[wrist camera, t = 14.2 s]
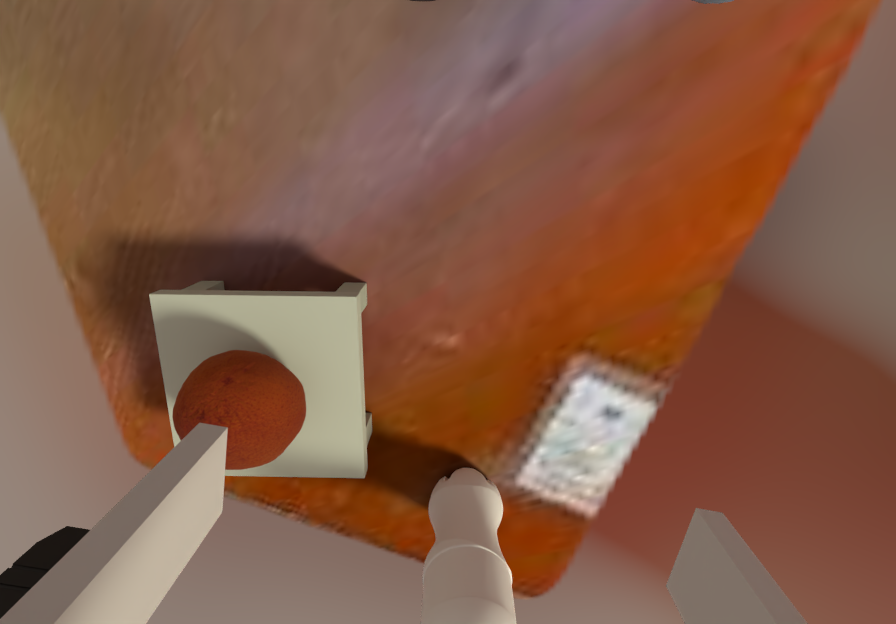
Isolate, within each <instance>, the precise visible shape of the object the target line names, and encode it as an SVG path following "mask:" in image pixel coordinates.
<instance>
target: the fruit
mask: <svg viewBox="0 0 896 624" xmlns="http://www.w3.org/2000/svg"><path fill="white" fill-rule="evenodd" d="M172 417H173V423H174V427H175V430H176V432H177V434H178V436H179V438H180V440H182V439H183V438H184V437H185V436H186V435H187V434H188V433H189V432H190V431H192V430H193V429H194V428H195V427H196V426H197V425H198V424H199V423H205V424H211V425H216V426H222V427H228V432H227V447H226V463H225V470H242V469H248V468H254V467H258V466H262V465H264V464H267V463H270V462H271V461H273V460H275V459H276V458H277V457H278V456H280V455H281V454H282V453H283V452H284V451H285V449H286V448H287V447H288V446H289V445H290V443H291V442H292V441H293V440H294V439H295V437H296V436H297V434H298V433H299V432H300V430H301V428H302V426H303V423H304V420H305V417H306V400H305V392H304V388H303V386H302V384H301V382H300V381H299V380H298V378H297V377H296V376H295V375H294V374H293V373H292V372H291V371H290V370H289V369H288V368H286V367H285V366H284V365H283V364H282V363H280V362H279V361H277V360H276V359H273V358H271V357H269V356H268V355H265V354H261V353H258V352H253V351H246V350H230V351H227V352H224V353H220V354H217V355H214V356H211V357H209V358H207V359H206V360H204V361H203V362H202V363H201V364H200V365H198V366H197V367H196V368H195V369H194V370H193V371H192V372H191V373H190V375H189V376H188V377H187V379H186V380H185V382H184V383H183V385H182V387H181V389H180V391H179V392H178V395H177V397H176V401H175V404H174V407H173V415H172Z"/></svg>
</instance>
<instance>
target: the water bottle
mask: <svg viewBox="0 0 896 624" xmlns="http://www.w3.org/2000/svg"><path fill="white" fill-rule="evenodd" d="M428 510H429V517H430V521H431V523H432V526H433V528H434V532H435V536H436V541H435V543H434V545H433V547H432V549H431V550H430V552H429V553H428V555H427V557H426V560H425V563H424V568H423V577H422V578H423V579H422V581H423V597H422V609H421V621H420V624H517V623H516V617H515V609H514V601H513V593H512V573H511V570H510V568H509V567H508V565H507V563H506V561H505V559H504V557H503V555H502V553H501V550H500V547H499V544H498V538H497V528H498V526H499V524H500V522H501V519H502V515H503V505H502V500H501V496H500V494H499V491H498V489H497V487H496V486H495V484H494V483H493V482H491V481H490V480H487V481H486V479H485V477H484V476H483V475H482V474H481V473H480V472H478V471H477V470H475V469H473V468H461V469H458V470H456V471H454V472H453V474H452V475H451V477H450V479H448V478H447V477H446V476H444V477H443V478H441V479H440V480H439V481H438V482H437V484H436V485H435V487H434V489H433V491H432V494H431V497H430V501H429V509H428Z"/></svg>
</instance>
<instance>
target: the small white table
mask: <svg viewBox="0 0 896 624" xmlns="http://www.w3.org/2000/svg"><path fill="white" fill-rule="evenodd" d="M149 297H150V303H151V309H152V315H153V321H154V327H155V333H156V339H157V345H158V351H159V357H160V363H161V369H162V375H163V381H164V387H165V393H166V399H167V405H168V411H169V417H170V423H171V429H172V435H173V441H174V447H175V446H176V445H177V444H178V443H179V442H180V441H181V440H180V438H179V436H178V434H177V432H176V430H175V427H174V423H173V417H172V415H173V407H174V404H175V401H176V397H177V395H178V392H179V391H180V389H181V387H182V385H183V383H184V382H185V380H186V379H187V377H188V376H189V375H190V373H191V372H192V371H193V370H194V369H195V368H196V367H197V366H198V365H200V364H201V363H202V362H203V361H204V360H206V359H207V358H209V357H211V356H214V355H217V354H220V353H224V352H227V351H230V350H246V351H253V352H258V353H261V354H265V355H268V356H269V357H271V358H273V359H276V360H277V361H279V362H280V363H282V364H283V365H284V366H285V367H286V368H288V369H289V370H290V371H291V372H292V373H293V374H294V375H295V376H296V377H297V378H298V380H299V381H300V382H301V384H302V386H303V388H304V392H305V400H306V417H305V420H304V423H303V426H302V428H301V430H300V432H299V433H298V434H297V436H296V437H295V439H294V440H293V441H292V442H291V443H290V445H289V446H288V447H287V448H286V449H285V451H284V452H283V453H282V454H281V455H280V456H278V457H277V458H276V459H275V460H273V461H271V462H270V463H267V464H264V465H262V466H258V467H254V468H248V469H242V470H225V476H272V477H325V478H365V475H366V472H367V469H368V463H367V446H368V443H369V439H370V436H371V433H372V413H365V393H364V370H363V346H362V323H361V313H362V311H363V310H364V308H365V307H366V305H367V284H366V283H346V282H344V283H343V284H342V285H341V286H340V287H339V288H338V289H337V290H336V291H335V292H309V291H229V290H225V289H224V281H200V282H198V283H195V284H193V285H191V286H189V287H186V288H184V289H182V290H158V291H156V292H153V293H151V294H149Z"/></svg>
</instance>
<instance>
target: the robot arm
mask: <svg viewBox="0 0 896 624" xmlns="http://www.w3.org/2000/svg"><path fill="white" fill-rule="evenodd" d="M411 1H434V0H411ZM692 1H695V2H698V3H704V4H706V3H723V2H730V1H734V0H692ZM227 432H228V427H222V426H216V425H211V424H205V423H199V424H198V425H197V426H196V427H195V428H194V429H193V430H192V431H190V432H189V433H188V434H187V435H186V436H185V437H184V438H183V439H182V440H181V441H180V442H179V443H178V444H177V445H176V446H175V447H174V448H173V449H172V450H171V451H170V452H169V453H168V454H167V455H166V456H165V457H164V458H163V459H162V460H161V461H160V462H159V463H158V464H157V465H156V466H155V467H154V468H153V469H152V470H151V471H150V472H149V473H148V474H147V475H146V476H145V477H144V478H143V479H142V480H141V481H140V482H139V483H138V484H137V485H136V486H135V487H134V488H133V489H132V490H131V491H130V492H129V493H128V494H127V495H126V496H125V497H124V498H122V499H121V500H120V502H118V503H117V504H116V505H115V506H114V507H113V508H112V509H111V510H110V511H109V512H108V513H107V514H106V515H105V516H104V517H103V518H102V519H101V520H100V521H99V522H98V523H97V524H96V525H95V526H94V527H93V528H92V529H91V530H88V529H82V528H75V527H69V526H66V527H65V528H63V529H61V530H59V531H57V532H55V533H54V534H52V535H50V536H48V537H46V538H44V539H42V540H41V541H39V542H37V543H36V544H35V545H34V546H32V547H31V548H30V549H29V550H28V551H27V552H26V553H25V554H23V555H22V556H21V557H20V558H19V559H18V560H17V561H16V562H14V563H13V566H12V568H8V569H7V570H6V571H4V572H3V573H2V574H1V575H0V624H146V623H147V621H148V619H149V618H150V617H151V615H152V614H153V612H154V611H155V609H156V608H157V606H158V605H159V604H160V602H161V601H162V599H163V598H164V596H165V595H166V593H167V592H168V590H169V589H170V588H171V586H172V585H173V583H174V582H175V580H176V579H177V577H178V576H179V574H180V573H181V571H182V570H183V569H184V567H185V566H186V564H187V563H188V561H189V560H190V558H191V557H192V555H193V554H194V552H195V551H196V550H197V548H198V547H199V545H200V544H201V542H202V541H203V539H204V538H205V536H206V535H207V533H208V532H209V530H210V529H211V528H212V526H213V525H214V523H215V522H216V520H217V519H218V517H219V516H220V515H221V513H222V509H223V508H222V507H223V493H224V478H225V463H226V447H227ZM666 587H667V589H668V591H669V593H670V595H671V597H672V599H673V601H674V603H675V605H676V607H677V609H678V611H679V613H680V615H681V617H682V619H683V621H684V623H685V624H807V622H806V621H805V620H804V618H803V617H802V616H801V614H800V613H799V612H798V610H797V609H796V608H795V607H794V605H793V604H792V603H791V601H790V600H789V599H788V597H787V596H786V595H785V594H784V592H783V591H782V590H781V588H780V587H779V586H778V584H777V583H776V582H775V581H774V579H773V578H772V577H771V575H770V574H769V573H768V572H767V570H766V569H765V567H764V566H763V565H762V564H761V562H760V561H759V560H758V558H757V557H756V556H755V554H754V553H753V552H752V551H751V549H750V548H749V547H748V545H747V544H746V543H745V542H744V540H743V539H742V538H741V536H740V535H739V534H738V532H737V531H736V530H735V528H734V527H733V526H732V525H731V523H730V522H729V521H728V519H727V518H726V517H725V515H724V514H723V513H721V512H715V511H709V510H704V509H698V508H696V510H695V512H694V515H693V518H692V520H691V523H690V525H689V528H688V530H687V533H686V536H685V538H684V541H683V543H682V546H681V549H680V551H679V554H678V556H677V559H676V562H675V564H674V567H673V569H672V572H671V575H670V577H669V579H668V582H667V585H666Z"/></svg>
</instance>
